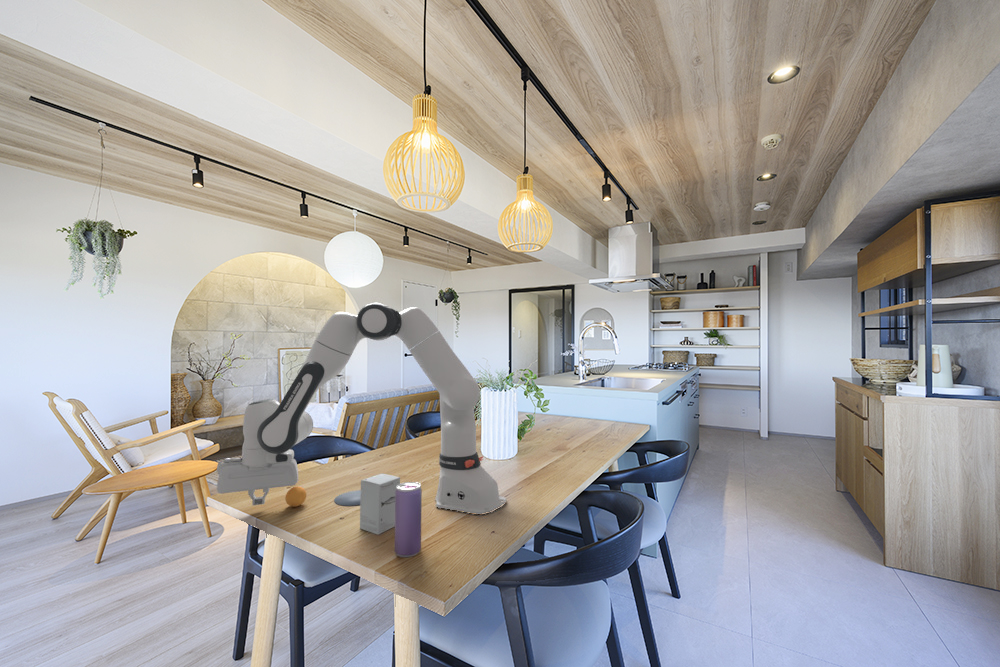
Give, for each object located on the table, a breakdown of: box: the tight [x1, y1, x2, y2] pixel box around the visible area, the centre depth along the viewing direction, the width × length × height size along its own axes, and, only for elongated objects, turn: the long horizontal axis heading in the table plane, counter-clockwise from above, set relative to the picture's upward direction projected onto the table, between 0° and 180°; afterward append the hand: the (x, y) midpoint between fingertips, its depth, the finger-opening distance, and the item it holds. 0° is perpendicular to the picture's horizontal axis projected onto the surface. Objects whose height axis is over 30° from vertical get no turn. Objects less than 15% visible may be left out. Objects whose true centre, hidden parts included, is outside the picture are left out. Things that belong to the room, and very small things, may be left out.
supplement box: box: [359, 473, 401, 536], centre depth 106 cm, size 7×7×13 cm
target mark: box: [333, 489, 361, 507], centre depth 126 cm, size 13×13×1 cm
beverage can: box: [394, 481, 423, 558], centre depth 93 cm, size 6×6×15 cm
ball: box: [284, 486, 307, 508], centre depth 120 cm, size 6×6×6 cm
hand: (258, 504), depth 116 cm, fingers closed
